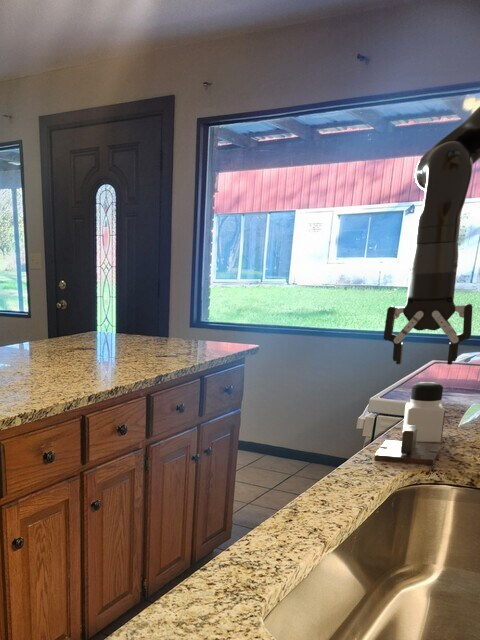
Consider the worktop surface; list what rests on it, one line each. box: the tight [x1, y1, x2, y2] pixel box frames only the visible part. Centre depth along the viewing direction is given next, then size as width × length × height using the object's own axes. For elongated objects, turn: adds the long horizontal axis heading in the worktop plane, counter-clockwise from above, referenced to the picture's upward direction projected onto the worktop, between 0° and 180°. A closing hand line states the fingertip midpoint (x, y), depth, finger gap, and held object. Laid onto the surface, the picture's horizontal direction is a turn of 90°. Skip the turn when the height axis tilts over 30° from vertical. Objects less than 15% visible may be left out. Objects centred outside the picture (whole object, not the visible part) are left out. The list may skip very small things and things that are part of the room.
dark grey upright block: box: [401, 425, 418, 453], centre depth 130 cm, size 6×2×4 cm, turn 149°
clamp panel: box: [373, 439, 441, 467], centre depth 131 cm, size 10×12×3 cm
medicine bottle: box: [402, 381, 446, 443], centre depth 147 cm, size 7×7×12 cm
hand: (423, 364), depth 126 cm, fingers open, 8 cm apart
